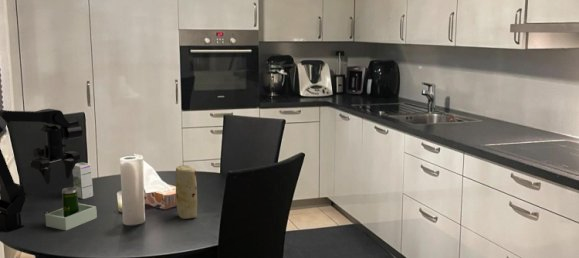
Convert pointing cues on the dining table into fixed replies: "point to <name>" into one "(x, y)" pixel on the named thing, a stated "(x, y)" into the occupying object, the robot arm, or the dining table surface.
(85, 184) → the syrup box
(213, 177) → the dining table surface
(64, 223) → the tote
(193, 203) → the food model
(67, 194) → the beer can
